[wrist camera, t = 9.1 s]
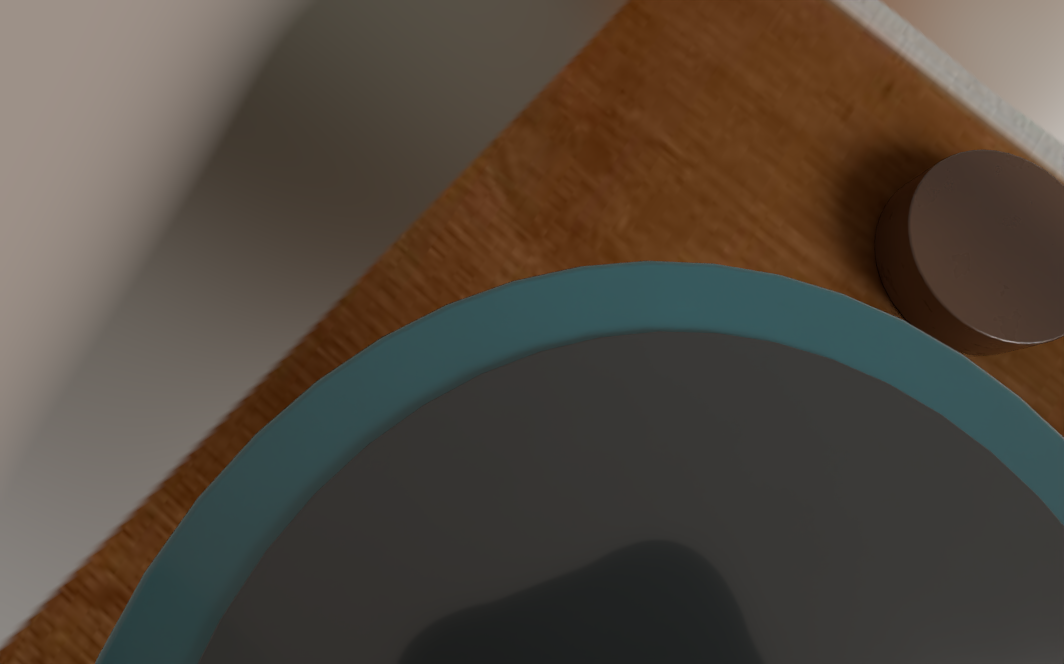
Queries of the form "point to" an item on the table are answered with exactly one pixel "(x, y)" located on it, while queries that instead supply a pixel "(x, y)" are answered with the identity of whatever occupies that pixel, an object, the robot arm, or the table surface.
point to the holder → (977, 252)
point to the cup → (627, 493)
